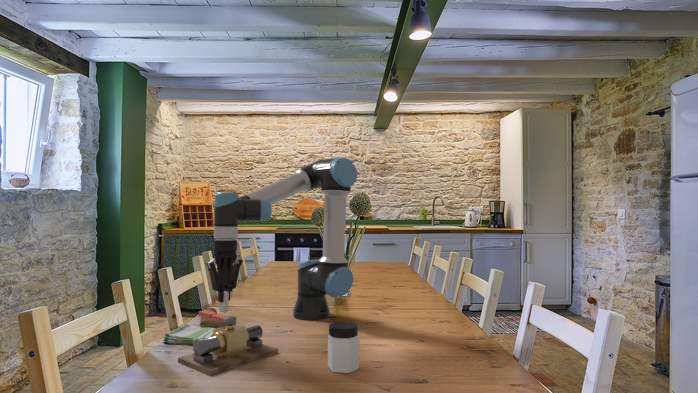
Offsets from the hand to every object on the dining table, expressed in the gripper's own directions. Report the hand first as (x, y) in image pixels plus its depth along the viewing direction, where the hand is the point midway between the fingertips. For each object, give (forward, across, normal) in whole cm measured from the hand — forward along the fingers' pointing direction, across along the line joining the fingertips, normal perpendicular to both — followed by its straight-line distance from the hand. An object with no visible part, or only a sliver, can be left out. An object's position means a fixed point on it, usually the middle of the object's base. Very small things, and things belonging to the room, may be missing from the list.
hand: (223, 311), depth 143 cm
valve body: (+10, +6, +11) cm, 16 cm away
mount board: (+11, +6, +11) cm, 16 cm away
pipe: (+11, -12, -20) cm, 26 cm away
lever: (+1, +6, +5) cm, 7 cm away
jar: (+11, -9, +43) cm, 45 cm away
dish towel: (+12, -1, -12) cm, 16 cm away
